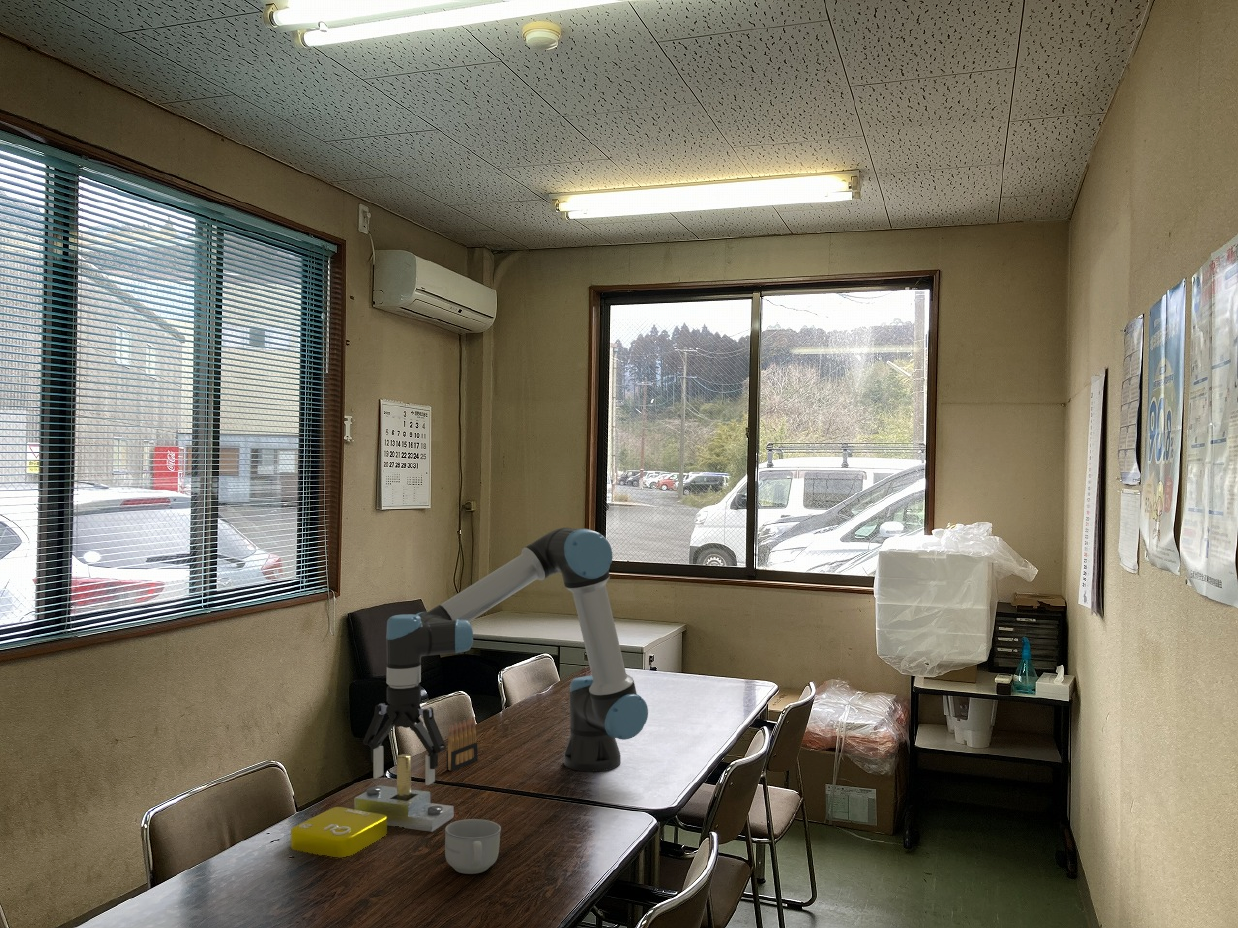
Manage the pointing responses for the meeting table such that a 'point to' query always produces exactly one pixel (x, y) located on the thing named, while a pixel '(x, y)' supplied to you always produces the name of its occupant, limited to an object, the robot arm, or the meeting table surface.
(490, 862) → the teacup
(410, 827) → the bolted socket block
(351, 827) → the element tile
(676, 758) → the meeting table surface
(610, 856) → the meeting table surface
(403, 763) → the brass pin
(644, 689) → the meeting table surface
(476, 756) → the ammunition clip
